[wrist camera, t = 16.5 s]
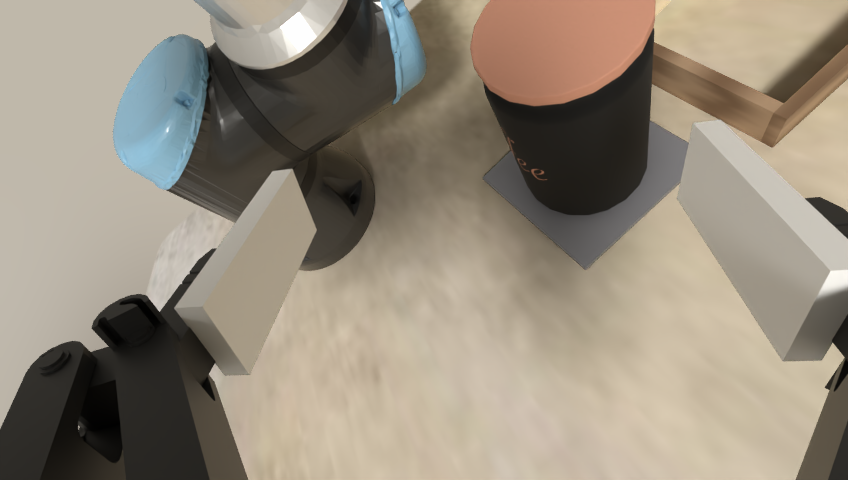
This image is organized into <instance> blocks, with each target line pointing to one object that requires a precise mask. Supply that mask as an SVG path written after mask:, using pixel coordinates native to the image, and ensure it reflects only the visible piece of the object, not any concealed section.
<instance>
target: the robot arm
mask: <svg viewBox="0 0 848 480" xmlns="http://www.w3.org/2000/svg"><path fill="white" fill-rule="evenodd" d="M194 1H195V2H196V3H197V4H199V5H200V6H201V7H202V8H203V9H205V10H206V11H207V12H208V13H209V14H210V23H211V29H212V33H213V36H214V40H215V41H216V42H215V43H214V44H213V45H212V46H210V47H208V48H205V47H204V45H203V43H202V42H201V41H199V40H198V39H194V38H192V37H190V36H188V35H184V34H180V35H177V36H174V37H172V36H171V37H169V38H167V39H165V40H163V41H162V42H161V43H160V44H158V45H157V46H156V47H155V48H154V49H153V50H152V51H151V52H150V53H149V54H148V55H147V56H146V57H145V59H144V60H143V61H142V63H141V64H140V65H139V67H138V68H137V70H136V71H135V73H134V74H133V76H132V78H131V80H130V81H129V83H128V85H127V87H126V89H125V91H124V93H123V96H122V98H121V101H120V103H119V106H118V109H117V113H116V117H115V122H114V129H113V139H114V146H115V150H116V152H117V155H118V156H119V158H120V160H121V161H122V162H123V163H124V165H126V166H127V167H128V168H129V169H131V170H133V171H134V172H136V173H138V174H140V175H141V176H143V177H145V178H146V179H148V180H150V181H152V182H153V183H155V185H156V186H157V187H159V188H161V189H164V190H167V191H169V192H171V193H173V194H175V195H177V196H180V197H182V198H184V199H186V200H188V201H190V202H192V203H194V204H196V205H199V206H201V207H203V208H205V209H207V210H209V211H211V212H213V213H216V214H218V215H220V216H222V217H224V218H226V219H228V220H230V221H232V222H235V224H234V225H233V227H232V228H231V230H230V231H229V232H228V234H227V235H226V237H225V238H224V239H223V241H222V242H221V244H220V245H219V246H218V248H215V249H211V250H210V251H209V252H208V253H207V254H205V255H204V256H203V257H202V258H200V259H199V260H198V261H197V263H196V264H195V265H194V267H193V268H192V269H191V271H190V274H188V275H187V276H186V277H185V279H184V280H183V281H182V284H180V285H179V287H178V288H177V290H176V291H175V292H174V294H173V295H172V296H171V298H170V299H169V300H168V302H167V303H166V304H165V306H164V307H163V308H162V310H161V311H160V312H159V311H158V310H157V308H156V307H155V306H154V305H153V303H152V302H151V301H150V299H149V298H148V297H147V296H146V295H142V294H136V295H130V296H127V297H125V298H122V299H119V300H118V301H116V302H115V303H113V304H111V305H109V306H108V307H107V308H105V309H104V310H103V311H102V312H101V313H100V314H99V315H98V316H97V318H96V319H95V320H94V322H93V325H92V329H93V330H94V331H95V332H96V333H97V335H98V336H99V337H100V338H101V339H102V340H104V342H105V343H106V344H107V345H108V346H109V347H106V348H103V349H100V350H96V351H93V352H90V351H88V349H87V348H86V347H85V346H84V345H83V344H82V343H81V342H77V341H71V342H67V343H63V344H60V345H58V346H56V347H54V348H51V349H50V350H48V351H47V352H45V353H44V354H42V355H41V356H40V357H39V358H38V359H37V360H36V361H35V362H34V363H33V364H32V365H31V366H30V368H29V369H28V371H27V372H26V374H25V376H24V378H23V381H22V383H21V385H20V387H19V389H18V392H17V394H16V396H15V398H14V400H13V403H12V405H11V407H10V409H9V411H8V413H7V416H6V418H5V420H4V422H3V425H2V427H1V429H0V480H248V478H247V475H246V472H245V469H244V466H243V463H242V461H241V458H240V455H239V452H238V449H237V446H236V443H235V440H234V437H233V435H232V432H231V429H230V426H229V423H228V420H227V417H226V414H225V411H224V408H223V406H222V403H221V400H220V397H219V394H218V391H217V388H216V385H215V382H214V381H213V379H212V378H211V377H210V376H209V373H210V371H211V369H212V367H213V365H214V363H216V365H217V366H218V367H219V369H220V370H221V371H222V373H223V374H224V375H225V376H226V375H250V373H251V371H252V369H253V366H254V364H255V362H256V360H257V358H258V356H259V354H260V351H261V349H262V347H263V345H264V343H265V341H266V338H267V336H268V334H269V332H270V330H271V328H272V326H273V323H274V321H275V319H276V317H277V315H278V313H279V310H280V308H281V306H282V304H283V302H284V300H285V298H286V295H287V293H288V291H289V289H290V287H291V285H292V282H293V280H294V278H295V276H296V274H297V272H298V270H304V271H312V270H318V269H322V268H325V267H327V266H330V265H332V264H334V263H335V262H337V261H339V260H340V259H341V258H343V257H344V256H345V255H346V254H348V253H349V252H350V251H351V250H352V249H353V248H354V246H355V245H356V244H357V243H358V242H359V240H360V239H361V237H362V236H363V234H364V232H365V231H366V229H367V227H368V224H369V222H370V219H371V216H372V213H373V208H374V187H373V183H372V180H371V177H370V175H369V173H368V172H367V171H366V169H365V168H364V167H363V166H362V165H361V164H360V163H359V162H358V161H357V160H355V159H354V158H353V157H352V156H351V155H349V154H347V153H346V152H344V151H341V150H339V149H336V148H333V147H330V146H327V145H328V144H330V143H331V142H333V141H334V140H336V139H338V138H339V137H341V136H342V135H344V134H346V133H347V132H349V131H350V130H352V129H354V128H355V127H357V126H358V125H360V124H362V123H363V122H365V121H366V120H368V119H370V118H371V117H373V116H374V115H376V114H378V113H379V112H381V111H382V110H384V109H386V108H387V107H389V106H390V105H394V104H396V103H397V102H398V101H399V100H400V98H401V97H402V96H403V95H404V94H406V93H407V92H408V91H410V90H411V89H412V88H414V87H415V86H416V85H418V84H419V83H420V82H421V81H422V80H423V78H424V76H425V73H426V68H427V63H426V57H425V53H424V49H423V46H422V43H421V40H420V38H419V35H418V32H417V30H416V27H415V25H414V22H413V20H412V18H411V15H410V13H409V11H408V10H407V8H406V7H405V5H404V0H194ZM677 200H678V201H679V203H680V204H681V206H682V207H683V209H684V210H685V212H686V213H687V215H688V216H689V218H690V220H691V221H692V223H693V224H694V226H695V227H696V229H697V230H698V232H699V233H700V235H701V236H702V238H703V240H704V241H705V243H706V244H707V246H708V247H709V249H710V250H711V252H712V253H713V255H714V256H715V258H716V260H717V261H718V263H719V264H720V266H721V267H722V269H723V270H724V272H725V273H726V275H727V276H728V278H729V280H730V281H731V283H732V284H733V286H734V287H735V289H736V290H737V292H738V293H739V295H740V296H741V298H742V299H743V301H744V303H745V304H746V306H747V307H748V309H749V310H750V312H751V313H752V315H753V316H754V318H755V319H756V321H757V323H758V324H759V326H760V327H761V329H762V330H763V332H764V333H765V335H766V336H767V338H768V339H769V341H770V343H771V344H772V346H773V347H774V349H775V350H776V352H777V353H778V355H779V356H780V358H781V359H782V361H816V360H822V359H823V357H824V356H825V354H826V353H827V351H828V349H829V348H830V346H831V344H832V343H834V344H835V346H836V347H837V348H838V349H839V351H840V352H841V353H842V355H843V356H844V357H845V358H844V359H843V361H842V362H841V364H840V365H839V367H838V368H837V370H836V371H835V373H834V374H833V376H832V377H831V379H830V380H829V382H828V383H827V385H826V387H825V388H826V389H829V390H830V391H829V393H828V396H827V398H826V401H825V404H824V406H823V409H822V412H821V414H820V417H819V420H818V422H817V425H816V428H815V430H814V433H813V436H812V438H811V441H810V443H809V446H808V449H807V451H806V454H805V457H804V459H803V462H802V465H801V467H800V470H799V473H798V475H797V478H796V480H848V212H847V211H846V210H845V209H843V208H842V207H839V206H837V205H835V204H833V203H831V202H829V201H827V200H825V199H823V198H821V197H815V198H804V197H802V196H801V195H800V194H799V193H798V192H797V191H796V190H795V189H794V188H793V187H792V186H791V185H790V184H789V183H788V182H787V181H785V180H784V179H783V178H782V177H781V176H780V175H779V174H778V173H777V172H776V171H775V170H774V169H773V168H772V167H771V166H770V165H768V164H767V163H766V162H765V161H764V160H763V159H762V158H761V157H760V156H759V155H758V154H757V153H756V152H755V151H754V150H753V149H751V148H750V147H749V146H748V145H747V144H746V143H745V142H744V141H743V140H742V139H741V138H740V137H739V136H738V135H737V134H735V133H734V132H733V131H732V130H731V129H730V128H729V127H728V126H727V125H726V124H725V123H724V122H723V121H722V120H714V121H705V122H696V123H693V125H692V130H691V135H690V140H689V144H688V149H687V154H686V158H685V163H684V168H683V172H682V177H681V182H680V186H679V191H678V196H677ZM78 425H79V426H80V428H79V430H78Z"/></svg>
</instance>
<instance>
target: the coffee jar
mask: <svg viewBox="0 0 848 480" xmlns="http://www.w3.org/2000/svg"><path fill="white" fill-rule="evenodd" d="M655 5H656V0H491V1H490V2H489V3H488V4H487V5H486V6H485V8H484V10H483V11H482V13H481V15H480V17H479V19H478V21H477V23H476V24H475V26H474V31H473V36H472V41H471V46H470V50H471V55H472V60H473V65H474V68H475V70H476V72H477V73H478V75H479V76H480V78H481V79H482V80H483V83H484V88H485V93H486V96H487V98H488V100H489V102H490V105H491V107H492V109H493V111H494V113H495V116H496V118H497V120H498V122H499V124H500V127H501V129H502V131H503V133H504V135H505V138H506V140H507V142H508V144H509V147H510V149H511V151H512V153H513V155H514V158H515V160H516V162H517V164H518V166H519V169H520V171H521V173H522V175H523V177H524V180H525V182H526V184H527V186H528V188H529V189H530V191H531V192H532V194H533V195H534V197H535V198H536V199H537V200H538V201H539V202H541V203H542V204H543V205H545V206H546V207H548V208H549V209H551V210H554V211H557V212H560V213H564V214H567V215H591V214H595V213H599V212H603V211H607V210H609V209H611V208H612V207H614V206H616V205H617V204H619V203H621V202H623V201H624V200H626V199H627V198H628V197H629V196H630V195H631V194H632V193H633V191H634V190H635V189H636V188H637V187H638V186H639V185H640V183H641V181H642V178H643V176H644V174H645V172H646V169H647V160H648V142H649V123H650V105H651V87H652V69H653V50H654V28H653V27H654V21H655Z"/></svg>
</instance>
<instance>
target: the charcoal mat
mask: <svg viewBox="0 0 848 480" xmlns="http://www.w3.org/2000/svg"><path fill="white" fill-rule="evenodd" d="M688 144H689V143H687V142H686V141H684V140H682V139H681V138H679V137H677V136H675V135H674V134H672V133H670V132H669V131H667V130H665V129H663V128H662V127H660V126H658V125H657V124H655V123H653V122H651V121H650V123H649V142H648V160H647V169H646V172H645V174H644V176H643V178H642V181H641V183H640V185H639V186H638V187H637V188H636V189H635V190H634V191H633V193H632V194H631V195H630V196H629V197H628V198H627V199H626V200H624V201H623V202H621V203H619V204H617V205H616V206H614V207H612V208H611V209H609V210H607V211H603V212H599V213H595V214H591V215H567V214H564V213H560V212H557V211H554V210H551V209H549V208H548V207H546V206H545V205H543V204H542V203H541V202H539V201H538V200H537V199H536V198H535V197H534V195H533V194H532V192H531V191H530V189H529V188H528V186H527V184H526V182H525V180H524V177H523V175H522V173H521V171H520V169H519V166H518V164H517V162H516V160H515V158H514V155H513V153H512V151H510V152H509V153H508V154H507V155H506V156H504V157H503V158H502V159H501V160H500V161H499V162H498V163H497V164H496V165H495V166H494V167H493V168H492V169H491V170H490V171H489V172H488V173H487V174H486V175H485V176H484V177H483V179H484V181H485V182H487V183H488V184H489V185H490V186H491V187H492V188H493V189H494V190H496V191H497V192H498V193H499V194H500V195H501V196H502V197H503V198H505V199H506V200H507V201H508V202H509V203H510V204H511V205H513V206H514V207H515V208H516V209H517V210H518V211H519V212H520V213H522V214H523V215H524V216H525V217H526V218H527V219H528V220H530V221H531V222H532V223H533V224H534V225H535V226H536V227H537V228H539V229H540V230H541V231H542V232H543V233H544V234H545V235H547V236H548V237H549V238H550V239H551V240H552V241H553V242H554V243H556V244H557V245H558V246H559V247H560V248H561V249H562V250H563V251H565V252H566V253H567V254H568V255H569V256H570V257H571V258H573V259H574V260H575V261H576V262H577V263H578V264H579V265H580V266H582V267H583V268H584V269H585V270H586V269H587V268H588V267H589V266H590V265H592V264H593V263H594V262H595V261H596V260H597V259H598V258H599V257H600V256H601V255H602V254H603V253H605V252H606V251H607V250H608V249H609V248H610V247H611V246H612V245H613V244H614V243H615V242H616V241H618V240H619V239H620V238H621V237H622V236H623V235H624V234H625V233H626V232H627V231H628V230H629V229H630V228H632V227H633V226H634V225H635V224H636V223H637V222H638V221H639V220H640V219H641V218H642V217H643V216H645V215H646V214H647V213H648V212H649V211H650V210H651V209H652V208H653V207H654V206H655V205H656V204H658V203H659V202H660V201H661V200H662V199H663V198H664V197H665V196H666V195H667V194H668V193H669V192H670V191H672V190H673V189H674V188H675V187H676V186H677V185H678V184H679V183H680V182H681V177H682V172H683V168H684V163H685V158H686V154H687V149H688Z"/></svg>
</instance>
